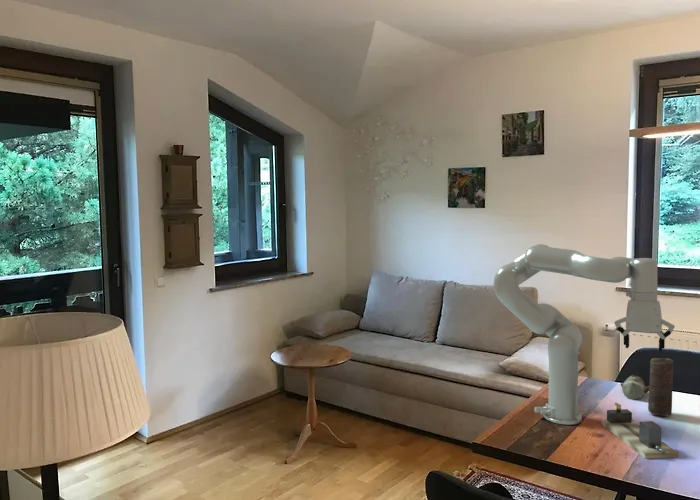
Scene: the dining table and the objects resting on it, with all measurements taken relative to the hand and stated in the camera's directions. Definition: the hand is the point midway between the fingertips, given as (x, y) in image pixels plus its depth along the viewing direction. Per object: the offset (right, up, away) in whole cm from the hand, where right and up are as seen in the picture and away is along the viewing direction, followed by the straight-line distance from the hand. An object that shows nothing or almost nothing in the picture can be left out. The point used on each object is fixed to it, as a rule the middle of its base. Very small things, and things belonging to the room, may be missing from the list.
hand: (643, 348), depth 185 cm
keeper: (-5, -26, +8) cm, 27 cm away
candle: (+14, -26, +16) cm, 34 cm away
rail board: (-4, -28, -3) cm, 29 cm away
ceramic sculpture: (+15, -25, +37) cm, 47 cm away
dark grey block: (-3, -27, -13) cm, 30 cm away
